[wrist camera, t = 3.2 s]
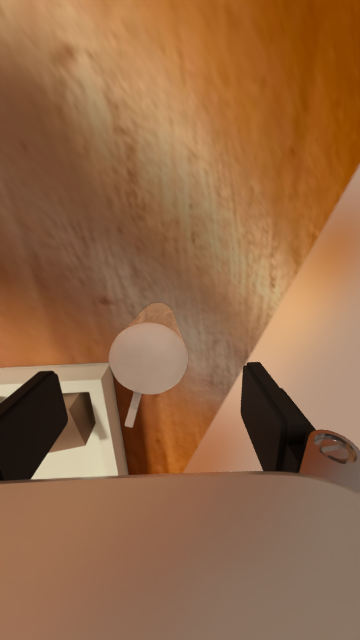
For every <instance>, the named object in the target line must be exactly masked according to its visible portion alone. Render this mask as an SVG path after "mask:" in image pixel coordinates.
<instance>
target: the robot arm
mask: <svg viewBox="0 0 360 640" xmlns="http://www.w3.org/2000/svg"><path fill="white" fill-rule="evenodd" d="M241 416H242V419H243V422H244V424H245V427H246V429H247V432H248V434H249V436H250V439H251V442H252V444H253V447H254V449H255V452H256V454H257V456H258V459H259V461H260V464H261V466H262V469H263V471H242V472H202V473H201V472H200V473H172V474H144V475H119V476H95V477H72V478H51V479H31V478H32V477H33V475H34V474H35V472H36V471H37V469H38V468H39V466H40V465H41V463H42V461H43V460H44V458H45V457H46V455H47V454H48V452H49V451H50V449H51V448H52V446H53V445H54V443H55V442H56V440H57V439H58V437H59V436H60V434H61V433H62V431H63V430H64V428H65V427H66V425H67V423H68V414H67V410H66V406H65V402H64V398H63V394H62V390H61V386H60V382H59V377H58V375H57V374H56V373H55V372H54V371H39V372H38V373H36V374H35V375H34V376H33V377H31V378H30V379H29V380H28V381H27V382H25V383H24V384H23V385H22V386H21V387H19V388H18V389H17V390H16V391H15V392H13V393H12V394H11V395H10V396H9V397H7V398H6V399H5V400H4V401H2V402H1V403H0V640H360V450H359V449H358V447H356V446H355V445H354V444H353V443H352V442H351V441H350V440H348V439H347V438H345V437H343V436H342V435H339V434H337V433H335V432H332V431H329V430H315V428H314V427H313V426H312V425H311V423H310V422H309V421H308V420H307V418H306V417H305V416H304V415H303V413H302V412H301V411H300V410H299V408H298V407H297V406H296V405H295V403H294V402H293V401H292V400H291V398H290V397H289V396H288V395H287V393H286V392H285V391H284V390H283V389H282V388H279V386H278V385H277V384H276V382H275V381H274V380H273V379H272V378H271V376H270V375H269V374H268V372H267V371H266V370H265V368H264V367H263V366H262V364H261V363H260V362H248V363H247V365H245V366H243V378H242V397H241Z"/></svg>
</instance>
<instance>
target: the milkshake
mask: <svg viewBox="0 0 360 640" xmlns="http://www.w3.org/2000/svg"><path fill="white" fill-rule="evenodd" d="M109 365H110V367H111V370H112V372H113V374H114V376H115V378H116V379H117V381H118V382H119V383H120V384H121V385H123V386H124V387H126V388H128V389H130V390H132V391H134V394H133V397H132V401H131V404H130V407H129V411H128V414H127V417H126V421H125V426H127V427H131V428H132V427H133V424H134V421H135V417H136V413H137V410H138V406H139V402H140V398H141V395H142V394H159V393H162V392H164V391H167V390H169V389H170V388H172V387H173V386H175V385H176V384H177V383H178V382H179V381H180V380H181V378H182V377H183V375H184V373H185V371H186V369H187V366H188V352H187V348H186V346H185V344H184V341H183V339H182V336H181V333H180V331H179V329H178V326H177V323H176V319H175V316H174V313H173V310H172V309H171V308H170V307H168V306H167V305H166V304H164V303H152V304H150V305H149V306H147V307H146V308H145V309H143V310H142V311H141V313H140V314H139V315H138V316H137V317H136V318H135V319H134V320H133V322H132V323H131V324H130V325H128V326H127V327H126V328H125V329H124V330H123V331H122V332H121V333H120V334H119V335H118V336H117V337H116V338H115V340H114V342H113V344H112V346H111V349H110V353H109Z"/></svg>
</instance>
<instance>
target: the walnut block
mask: <svg viewBox="0 0 360 640" xmlns="http://www.w3.org/2000/svg"><path fill="white" fill-rule="evenodd" d="M62 394H63V398H64V402H65V406H66V410H67V414H68V423H67V425H66V427H65V428H64V430H63V431H62V433H61V434H60V436H59V437H58V439H57V440H56V442H55V443H54V445H53V446H52V448H51V449H50V451H49V452H48V453H51V452H56V451H61V450H66V449H71V448H76V447H81V446H86V444H87V441H88V439H89V437H90V435H91V433H92V430H93V428H94V426H95V424H96V422H95V417H94V412H93V407H92V402H91V397H90V393H89V392H75V393H62Z"/></svg>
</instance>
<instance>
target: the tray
mask: <svg viewBox="0 0 360 640" xmlns="http://www.w3.org/2000/svg"><path fill="white" fill-rule="evenodd" d="M39 371H54V372H55V373H56V374H57V375H58V377H59V382H60V386H61V390H62V393H75V392H89V393H90V397H91V402H92V407H93V412H94V417H95V422H96V424H95V426H94V428H93V430H92V433H91V435H90V437H89V439H88V441H87V444H86V446H81V447H76V448H71V449H66V450H61V451H56V452H51V453H48V454H47V455H46V457H45V458H44V460H43V461H42V463H41V465H40V466H39V468H38V469H37V471H36V472H35V474H34V475H33V477H32V478H31V479H51V478H72V477H95V476H119V475H129V474H128V468H127V461H126V455H125V449H124V443H123V437H122V430H121V424H120V418H119V412H118V405H117V399H116V393H115V387H114V381H113V374H112V370H111V367H110V365H109V362H106V363H86V364H66V365H47V366H27V367H8V368H0V403H1V402H2V401H4V400H5V399H6V398H7V397H9V396H10V395H11V394H12V393H13V392H15V391H16V390H17V389H18V388H19V387H21V386H22V385H23V384H24V383H25V382H27V381H28V380H29V379H30V378H31V377H33V376H34V375H35V374H36V373H38V372H39Z"/></svg>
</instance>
